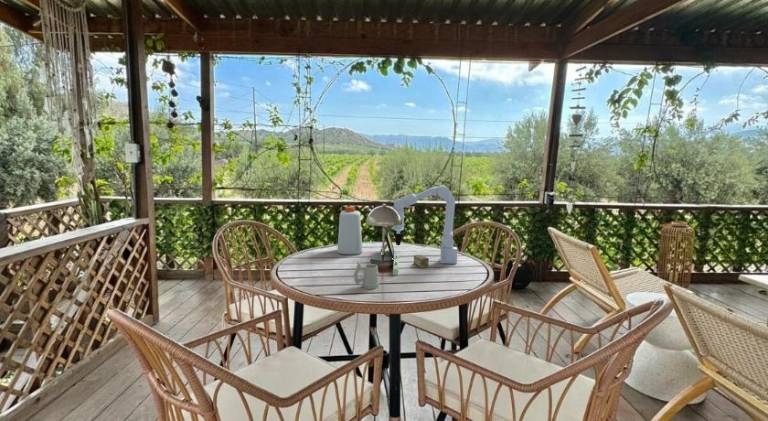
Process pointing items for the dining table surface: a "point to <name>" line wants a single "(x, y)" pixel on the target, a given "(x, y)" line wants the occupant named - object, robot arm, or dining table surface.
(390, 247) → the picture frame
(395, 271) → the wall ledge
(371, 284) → the mug
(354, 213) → the plastic bottle
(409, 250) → the dining table surface
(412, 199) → the robot arm
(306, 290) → the dining table surface
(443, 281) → the dining table surface
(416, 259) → the frame block
